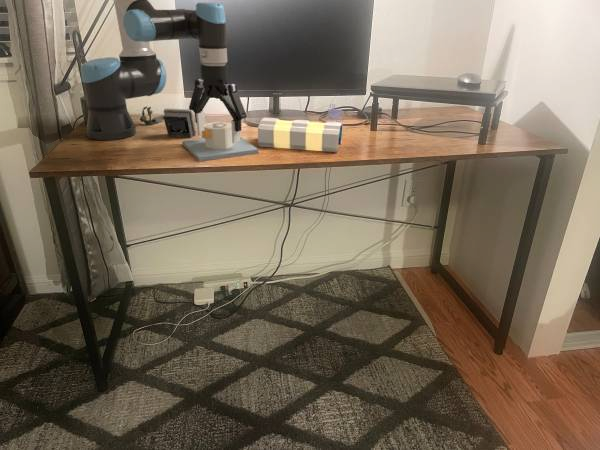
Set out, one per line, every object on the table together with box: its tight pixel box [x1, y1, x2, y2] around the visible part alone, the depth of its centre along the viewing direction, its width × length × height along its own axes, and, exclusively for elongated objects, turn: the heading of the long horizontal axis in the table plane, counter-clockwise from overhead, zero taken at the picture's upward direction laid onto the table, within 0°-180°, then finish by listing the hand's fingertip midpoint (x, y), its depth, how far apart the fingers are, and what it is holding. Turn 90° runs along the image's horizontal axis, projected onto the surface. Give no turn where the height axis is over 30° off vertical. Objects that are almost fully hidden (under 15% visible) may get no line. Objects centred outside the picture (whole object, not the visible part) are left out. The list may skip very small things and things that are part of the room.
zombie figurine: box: [139, 106, 165, 126], centre depth 161 cm, size 5×7×15 cm
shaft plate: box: [181, 124, 259, 162], centre depth 134 cm, size 18×18×7 cm
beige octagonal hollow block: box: [201, 121, 233, 149], centre depth 133 cm, size 8×10×6 cm
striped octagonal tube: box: [257, 103, 344, 153], centre depth 138 cm, size 25×10×13 cm, turn 79°
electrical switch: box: [163, 107, 197, 139], centre depth 145 cm, size 9×5×9 cm, turn 84°
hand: (218, 138), depth 134 cm, fingers open, 13 cm apart
